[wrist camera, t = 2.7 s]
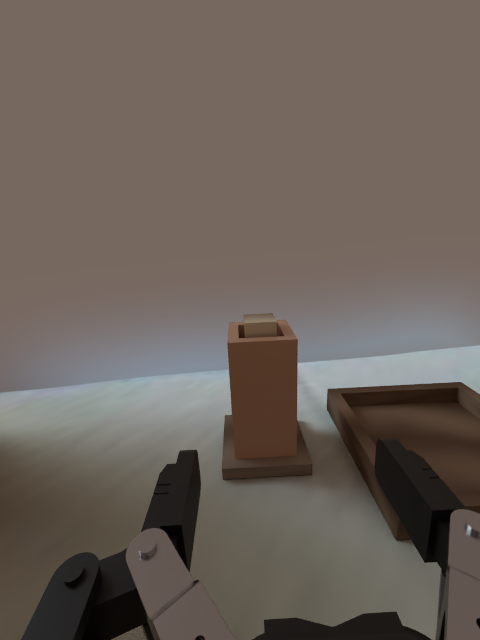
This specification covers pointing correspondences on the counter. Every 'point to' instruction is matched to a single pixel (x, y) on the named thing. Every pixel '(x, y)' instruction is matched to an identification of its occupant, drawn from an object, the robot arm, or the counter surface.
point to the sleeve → (263, 392)
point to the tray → (413, 434)
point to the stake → (264, 465)
